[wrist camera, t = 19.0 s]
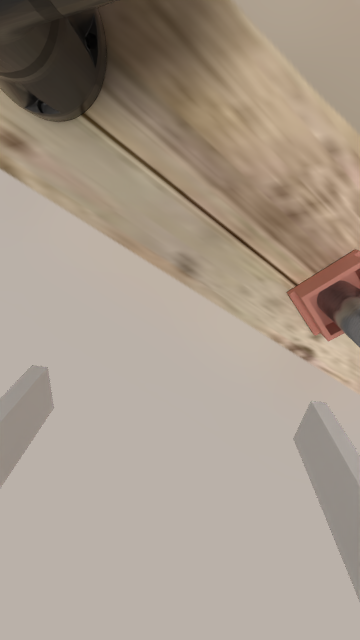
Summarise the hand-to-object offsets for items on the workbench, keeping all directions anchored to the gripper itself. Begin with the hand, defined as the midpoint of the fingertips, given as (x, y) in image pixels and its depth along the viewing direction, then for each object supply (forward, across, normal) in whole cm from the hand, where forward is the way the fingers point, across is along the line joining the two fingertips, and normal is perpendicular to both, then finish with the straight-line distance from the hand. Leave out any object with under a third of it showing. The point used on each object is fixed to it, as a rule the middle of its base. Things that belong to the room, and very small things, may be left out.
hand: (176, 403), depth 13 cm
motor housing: (+31, +25, -3) cm, 40 cm away
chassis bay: (+33, +26, -3) cm, 42 cm away
